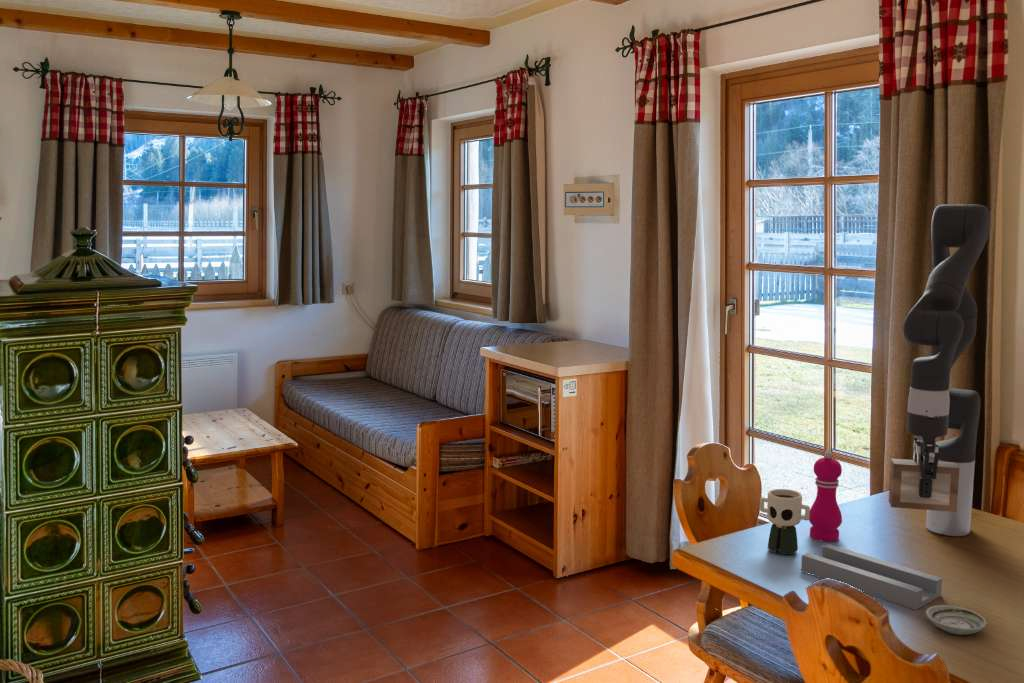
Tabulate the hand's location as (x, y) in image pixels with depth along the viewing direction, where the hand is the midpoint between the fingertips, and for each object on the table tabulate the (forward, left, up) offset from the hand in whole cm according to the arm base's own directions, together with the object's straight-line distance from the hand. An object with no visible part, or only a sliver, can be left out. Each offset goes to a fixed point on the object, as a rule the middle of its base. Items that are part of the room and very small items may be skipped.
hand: (922, 493), depth 183 cm
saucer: (+19, +16, -17) cm, 30 cm away
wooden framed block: (0, 0, -3) cm, 3 cm away
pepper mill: (-5, -24, -17) cm, 30 cm away
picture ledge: (+12, -4, -17) cm, 21 cm away
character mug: (+10, -25, -17) cm, 32 cm away
